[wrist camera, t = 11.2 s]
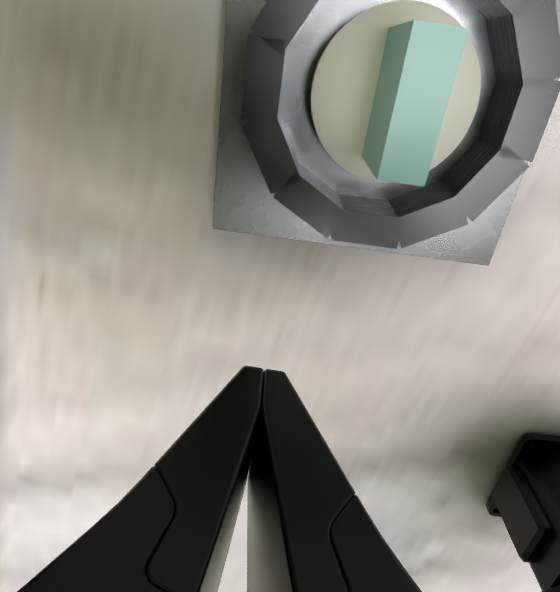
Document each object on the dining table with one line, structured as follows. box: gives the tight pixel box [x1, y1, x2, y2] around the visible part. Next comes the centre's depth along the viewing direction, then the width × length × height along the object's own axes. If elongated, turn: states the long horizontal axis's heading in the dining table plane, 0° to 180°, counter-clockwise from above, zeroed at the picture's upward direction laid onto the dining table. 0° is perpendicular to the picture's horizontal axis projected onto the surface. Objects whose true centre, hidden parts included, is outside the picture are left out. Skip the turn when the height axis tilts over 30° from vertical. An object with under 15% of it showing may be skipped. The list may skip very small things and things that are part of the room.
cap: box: [310, 0, 481, 186], centre depth 14 cm, size 6×6×5 cm
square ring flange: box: [213, 0, 560, 265], centre depth 16 cm, size 12×12×3 cm
